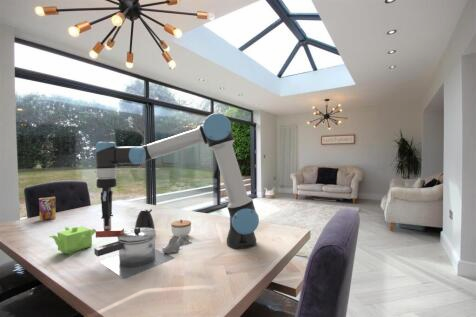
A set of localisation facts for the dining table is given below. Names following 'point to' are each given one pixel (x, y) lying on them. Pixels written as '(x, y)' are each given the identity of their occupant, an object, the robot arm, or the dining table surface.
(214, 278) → the dining table surface
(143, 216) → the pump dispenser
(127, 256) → the pot
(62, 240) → the kettle
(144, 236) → the lid
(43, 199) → the candy box
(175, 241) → the goldfish
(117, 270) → the trivet
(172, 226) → the lidded jar
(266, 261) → the dining table surface
